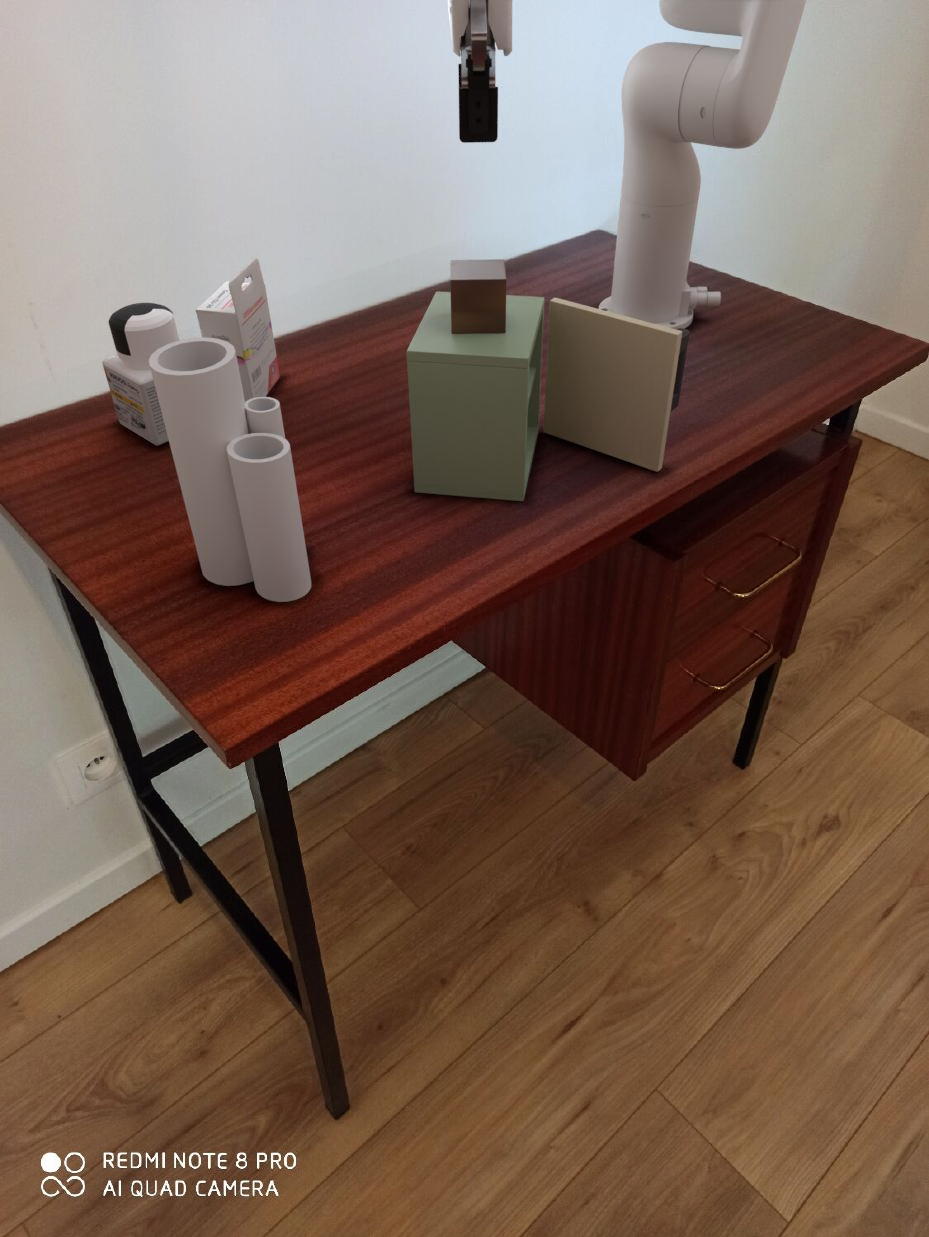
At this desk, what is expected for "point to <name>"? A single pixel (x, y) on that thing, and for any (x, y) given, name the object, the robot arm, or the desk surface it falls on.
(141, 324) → the container
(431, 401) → the cupboard
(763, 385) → the desk surface
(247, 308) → the ink cartridge box
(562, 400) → the cupboard door
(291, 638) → the desk surface
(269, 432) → the vase
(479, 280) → the block
